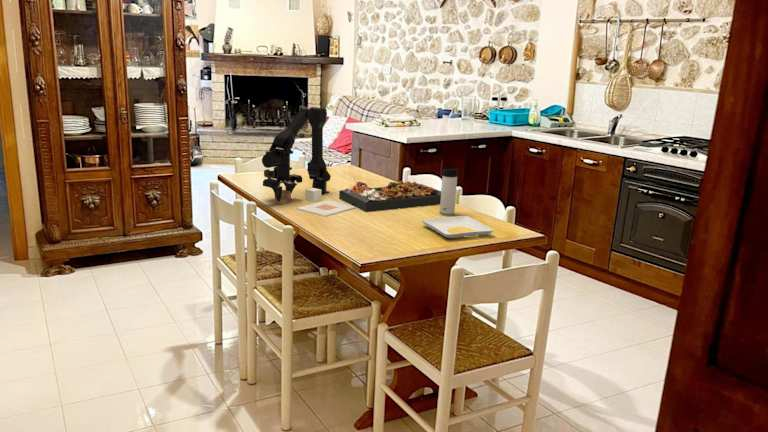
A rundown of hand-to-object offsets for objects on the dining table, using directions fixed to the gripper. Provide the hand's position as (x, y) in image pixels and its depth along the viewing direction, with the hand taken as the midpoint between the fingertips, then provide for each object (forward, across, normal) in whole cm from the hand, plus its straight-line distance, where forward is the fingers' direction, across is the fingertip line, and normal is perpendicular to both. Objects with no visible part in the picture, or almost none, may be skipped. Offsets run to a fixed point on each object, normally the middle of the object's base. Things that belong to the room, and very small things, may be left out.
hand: (282, 200), depth 271 cm
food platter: (+2, -40, +32) cm, 51 cm away
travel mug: (+1, -37, +61) cm, 71 cm away
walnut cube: (+1, 0, 0) cm, 1 cm away
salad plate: (+2, -17, +77) cm, 79 cm away
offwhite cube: (+1, -13, +6) cm, 14 cm away
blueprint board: (+1, -6, +20) cm, 21 cm away
